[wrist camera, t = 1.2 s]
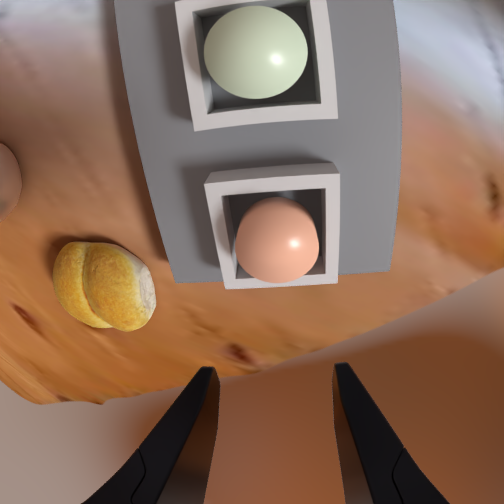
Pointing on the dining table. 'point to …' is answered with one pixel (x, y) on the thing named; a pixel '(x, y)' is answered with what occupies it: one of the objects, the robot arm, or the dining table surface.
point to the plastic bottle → (8, 182)
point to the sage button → (255, 52)
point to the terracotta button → (276, 240)
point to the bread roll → (104, 285)
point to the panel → (268, 135)
